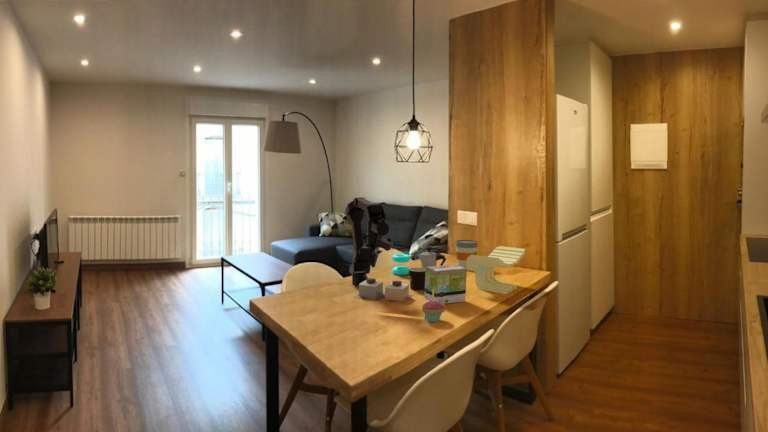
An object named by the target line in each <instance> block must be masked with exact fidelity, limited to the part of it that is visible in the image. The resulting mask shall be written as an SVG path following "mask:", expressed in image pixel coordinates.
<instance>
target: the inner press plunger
mask: <svg viewBox="0 0 768 432" xmlns="http://www.w3.org/2000/svg"><path fill="white" fill-rule="evenodd" d="M376 281H377V279H376V278H374V277H373V278H372V277H370V278H369V277H368V279H367V283H375V282H376Z"/></svg>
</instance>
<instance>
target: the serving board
mask: <svg viewBox="0 0 768 432" xmlns="http://www.w3.org/2000/svg"><path fill="white" fill-rule="evenodd" d="M412 297H414V295H412V294H409V297H407V298H406V299H405V300H404V301H396V300H387V299H385V291H383V294H382V295H380V296H379V297H377V298H369V297H360V296H359V293H358V294H357V295H355V296H354V297H353V298H355V299H363V300H370V301H371V300H372V301H381V302H390V303H399V304H405V303H406V302H408V301H409V300H410V299H411V298H412Z"/></svg>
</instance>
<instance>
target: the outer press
mask: <svg viewBox="0 0 768 432" xmlns="http://www.w3.org/2000/svg"><path fill="white" fill-rule="evenodd" d="M392 282H393V281H392ZM392 282H390V283H388V284H386V285H385V286H384V292H385V299H387V300H396V301H404V300H405V299H406V298H407V297H409V295H410V294H409V293H410V291H409V289H410V287H409V286H410V283H403V282H402V285H400V286H395V285H392Z"/></svg>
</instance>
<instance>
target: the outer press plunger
mask: <svg viewBox="0 0 768 432" xmlns="http://www.w3.org/2000/svg"><path fill="white" fill-rule="evenodd" d="M402 283H403V282H402V281H401V280H392V285H395V286H400V285H402Z"/></svg>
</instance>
